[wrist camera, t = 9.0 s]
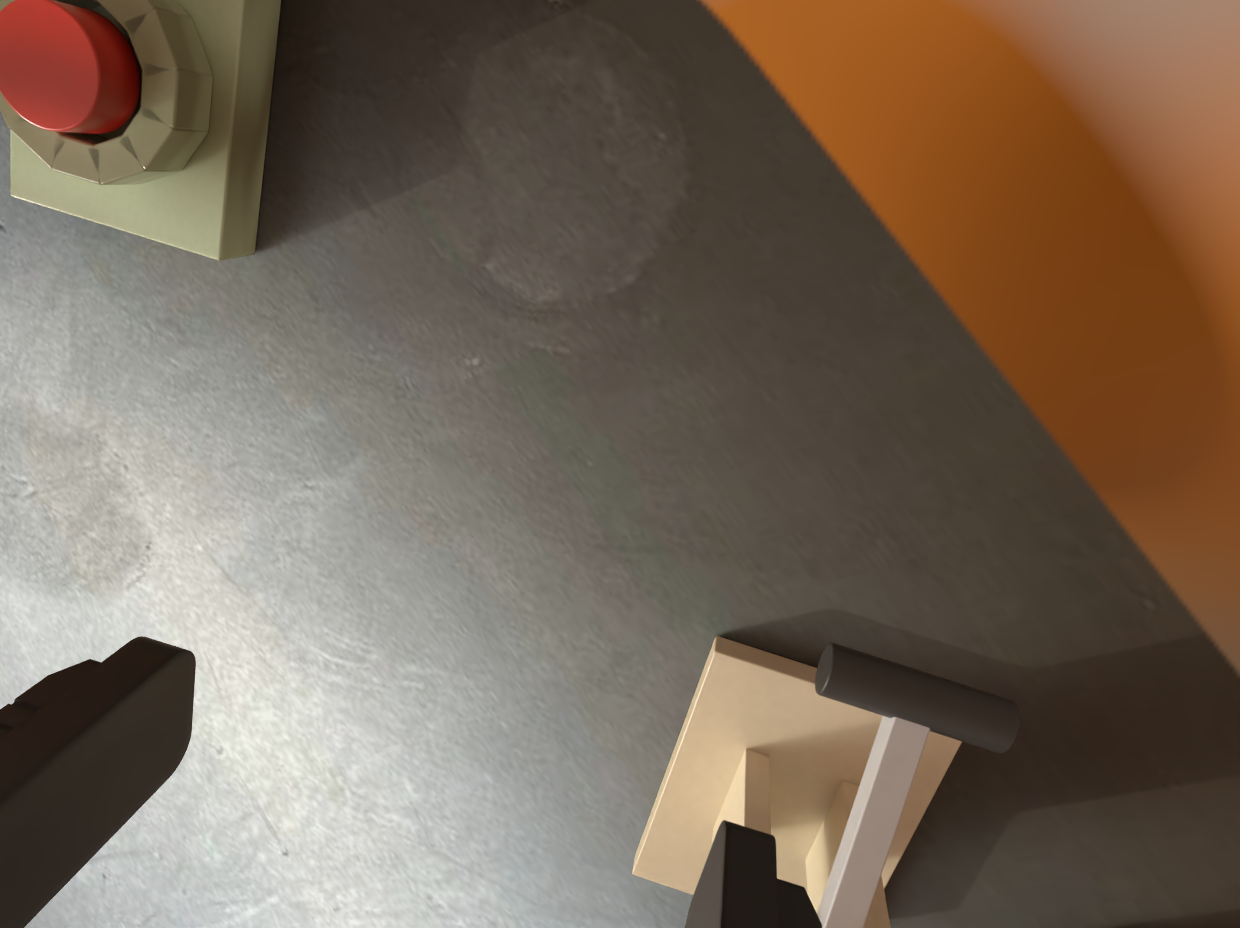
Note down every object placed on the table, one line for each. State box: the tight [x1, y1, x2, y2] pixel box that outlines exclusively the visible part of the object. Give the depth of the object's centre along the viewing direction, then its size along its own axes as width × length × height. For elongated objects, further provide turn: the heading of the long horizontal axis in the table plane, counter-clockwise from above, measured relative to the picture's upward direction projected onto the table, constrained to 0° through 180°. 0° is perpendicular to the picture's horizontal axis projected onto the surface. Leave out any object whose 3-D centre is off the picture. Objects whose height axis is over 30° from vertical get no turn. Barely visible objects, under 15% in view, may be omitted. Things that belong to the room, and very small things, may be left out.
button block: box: [0, 0, 281, 260], centre depth 27 cm, size 10×8×4 cm
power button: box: [0, 0, 140, 134], centre depth 25 cm, size 4×4×2 cm
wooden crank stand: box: [632, 636, 962, 928], centre depth 29 cm, size 12×10×13 cm
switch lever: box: [815, 643, 1020, 928], centre depth 25 cm, size 13×6×2 cm, turn 165°
